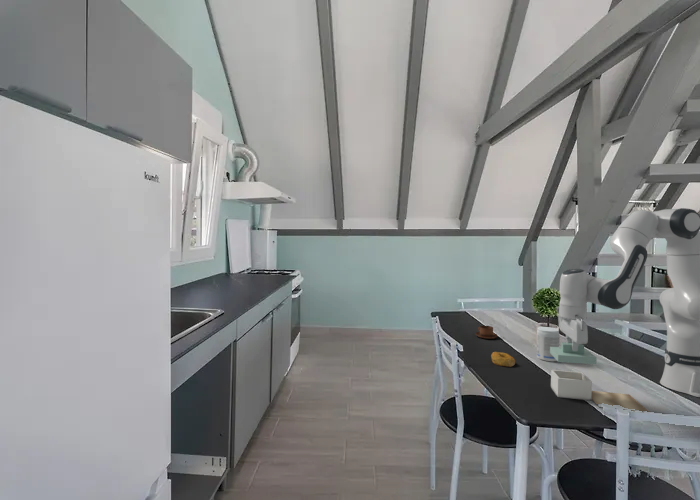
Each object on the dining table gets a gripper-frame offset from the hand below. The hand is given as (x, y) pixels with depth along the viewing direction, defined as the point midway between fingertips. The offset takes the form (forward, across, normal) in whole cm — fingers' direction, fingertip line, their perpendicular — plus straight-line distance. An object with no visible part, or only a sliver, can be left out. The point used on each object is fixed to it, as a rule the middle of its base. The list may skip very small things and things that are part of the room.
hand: (572, 348), depth 137 cm
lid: (+4, 0, 0) cm, 4 cm away
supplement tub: (+17, +41, -2) cm, 45 cm away
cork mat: (+17, -3, -13) cm, 22 cm away
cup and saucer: (+17, +73, +22) cm, 79 cm away
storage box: (+17, 0, 0) cm, 17 cm away
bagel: (+17, +29, +20) cm, 39 cm away
